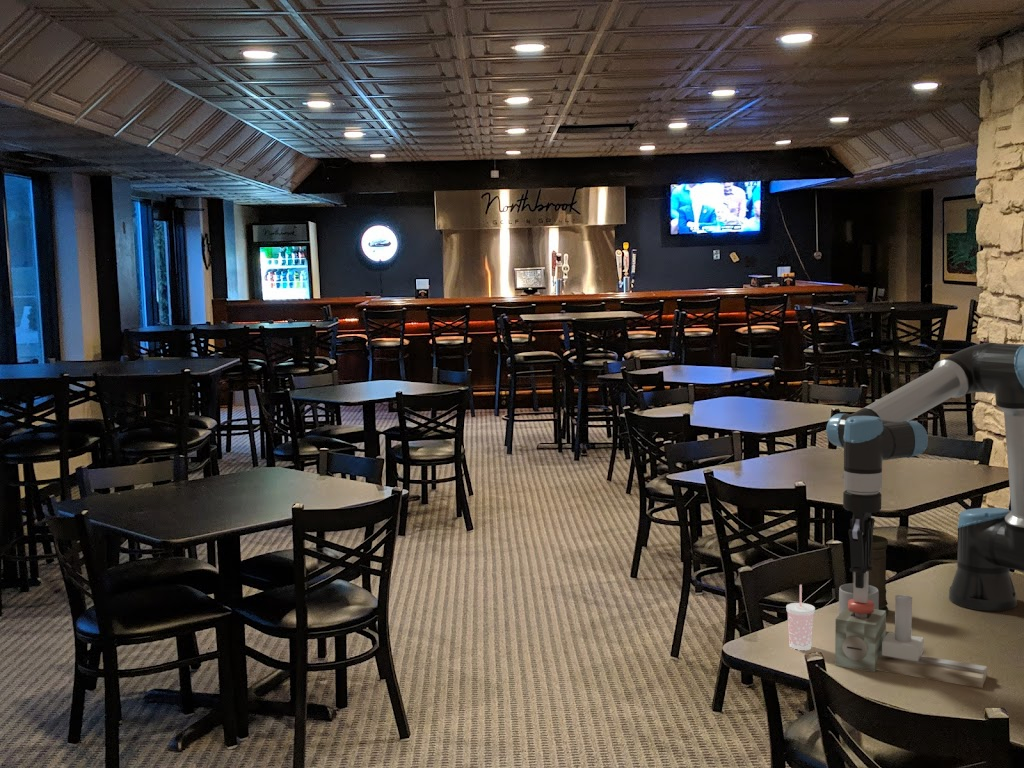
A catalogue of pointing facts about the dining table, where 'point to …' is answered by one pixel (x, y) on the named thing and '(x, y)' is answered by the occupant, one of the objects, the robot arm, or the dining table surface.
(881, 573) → the container
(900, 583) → the dining table surface
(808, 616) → the beverage cup
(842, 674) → the dining table surface
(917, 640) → the carriage
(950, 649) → the dining table surface
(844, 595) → the mug
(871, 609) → the button
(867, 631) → the rail rig
